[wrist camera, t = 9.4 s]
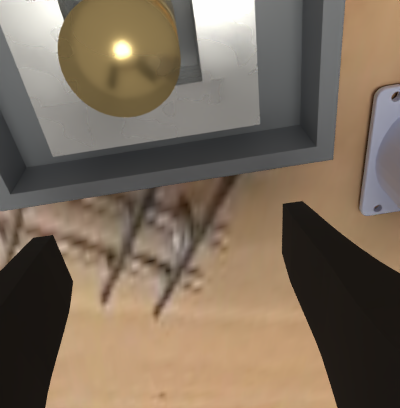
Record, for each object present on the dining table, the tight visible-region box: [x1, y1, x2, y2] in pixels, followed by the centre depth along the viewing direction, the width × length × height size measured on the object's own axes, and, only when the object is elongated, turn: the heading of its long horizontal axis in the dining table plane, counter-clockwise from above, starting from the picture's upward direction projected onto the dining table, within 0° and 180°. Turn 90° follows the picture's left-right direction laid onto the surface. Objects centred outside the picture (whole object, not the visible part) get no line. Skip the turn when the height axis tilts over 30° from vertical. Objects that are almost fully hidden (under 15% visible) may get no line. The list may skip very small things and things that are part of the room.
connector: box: [58, 0, 181, 117], centre depth 13 cm, size 3×3×7 cm
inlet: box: [0, 0, 260, 157], centre depth 15 cm, size 9×9×2 cm
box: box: [0, 0, 345, 211], centre depth 15 cm, size 16×14×4 cm
